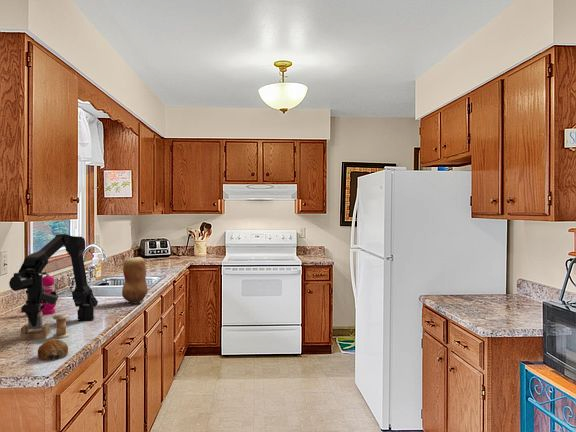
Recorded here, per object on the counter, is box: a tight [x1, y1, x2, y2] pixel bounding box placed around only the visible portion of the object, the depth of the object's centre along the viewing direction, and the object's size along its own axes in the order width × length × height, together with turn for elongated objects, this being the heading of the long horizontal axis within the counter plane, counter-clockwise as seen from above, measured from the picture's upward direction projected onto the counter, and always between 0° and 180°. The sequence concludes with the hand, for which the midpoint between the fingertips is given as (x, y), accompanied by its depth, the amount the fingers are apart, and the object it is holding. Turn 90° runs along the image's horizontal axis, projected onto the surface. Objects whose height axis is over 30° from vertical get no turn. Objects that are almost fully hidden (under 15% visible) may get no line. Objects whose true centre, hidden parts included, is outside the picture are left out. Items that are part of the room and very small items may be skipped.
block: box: [27, 312, 43, 329], centre depth 207 cm, size 4×4×6 cm
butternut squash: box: [121, 256, 149, 304], centre depth 277 cm, size 14×13×25 cm
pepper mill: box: [41, 272, 57, 316], centre depth 251 cm, size 7×7×20 cm
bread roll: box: [37, 338, 69, 361], centre depth 181 cm, size 10×10×8 cm
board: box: [20, 322, 52, 341], centre depth 209 cm, size 9×11×4 cm
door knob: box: [52, 313, 70, 339], centre depth 207 cm, size 6×6×8 cm
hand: (35, 325), depth 207 cm, fingers closed on block, 3 cm apart
